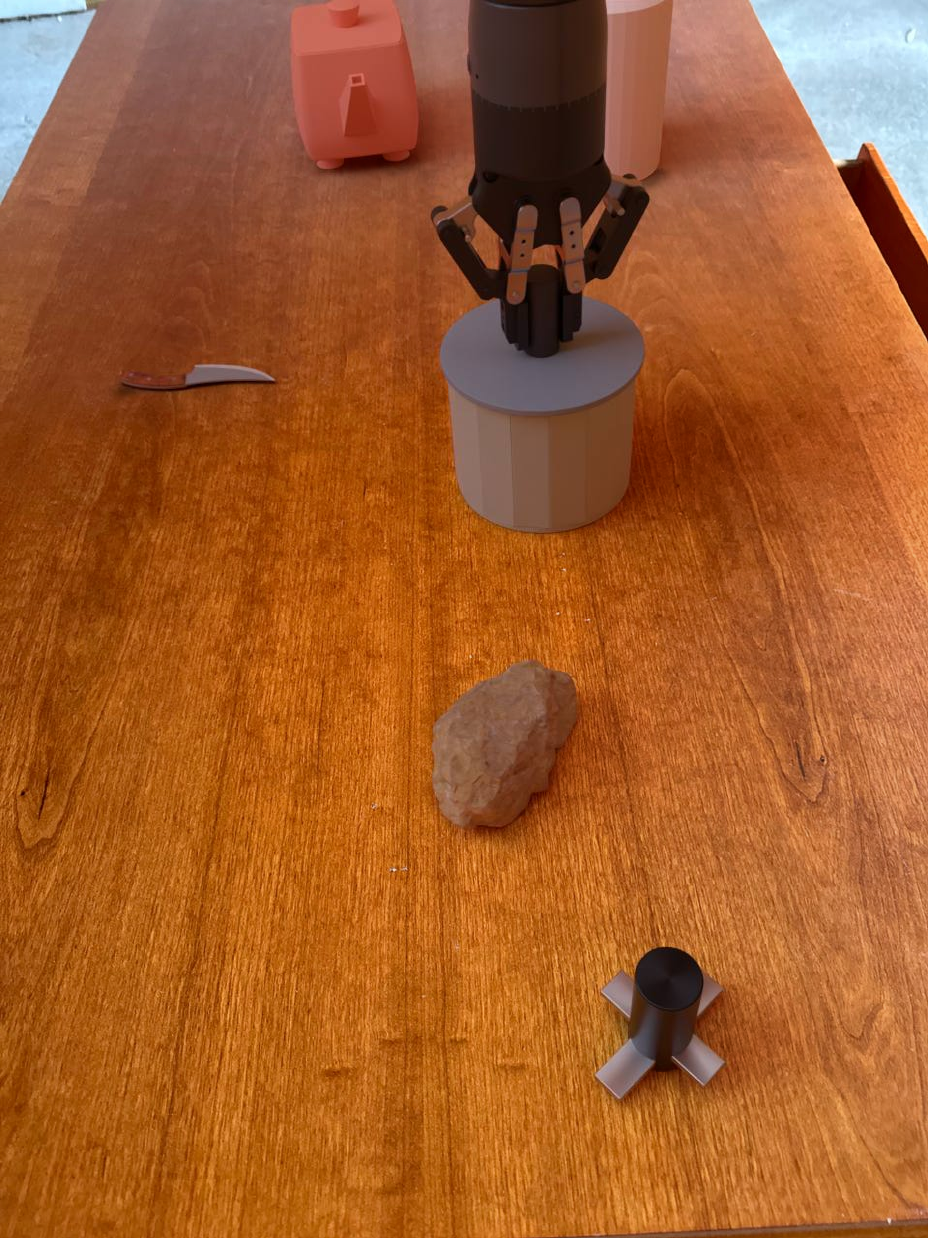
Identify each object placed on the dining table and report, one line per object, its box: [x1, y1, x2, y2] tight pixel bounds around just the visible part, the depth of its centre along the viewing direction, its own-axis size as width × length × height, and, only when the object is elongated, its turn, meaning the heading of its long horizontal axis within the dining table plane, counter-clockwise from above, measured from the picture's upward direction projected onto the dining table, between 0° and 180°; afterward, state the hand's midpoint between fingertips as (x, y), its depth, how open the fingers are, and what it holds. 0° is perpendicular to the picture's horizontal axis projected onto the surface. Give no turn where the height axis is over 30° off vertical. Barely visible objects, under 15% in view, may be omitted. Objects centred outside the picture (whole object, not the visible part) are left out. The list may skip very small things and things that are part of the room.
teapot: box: [290, 0, 419, 170], centre depth 116 cm, size 22×13×14 cm, turn 7°
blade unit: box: [593, 946, 726, 1103], centre depth 53 cm, size 8×6×7 cm
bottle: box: [604, 0, 674, 182], centre depth 107 cm, size 12×12×25 cm
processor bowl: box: [447, 378, 637, 534], centre depth 80 cm, size 13×13×10 cm
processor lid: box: [439, 263, 646, 417], centre depth 74 cm, size 14×14×7 cm
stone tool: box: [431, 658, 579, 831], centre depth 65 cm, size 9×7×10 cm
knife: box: [117, 364, 276, 390], centre depth 94 cm, size 13×1×3 cm
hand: (541, 338), depth 75 cm, fingers closed on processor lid, 2 cm apart
